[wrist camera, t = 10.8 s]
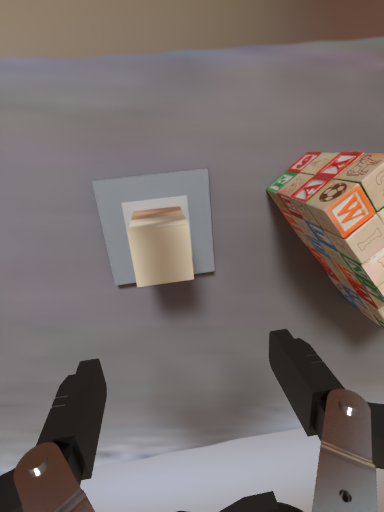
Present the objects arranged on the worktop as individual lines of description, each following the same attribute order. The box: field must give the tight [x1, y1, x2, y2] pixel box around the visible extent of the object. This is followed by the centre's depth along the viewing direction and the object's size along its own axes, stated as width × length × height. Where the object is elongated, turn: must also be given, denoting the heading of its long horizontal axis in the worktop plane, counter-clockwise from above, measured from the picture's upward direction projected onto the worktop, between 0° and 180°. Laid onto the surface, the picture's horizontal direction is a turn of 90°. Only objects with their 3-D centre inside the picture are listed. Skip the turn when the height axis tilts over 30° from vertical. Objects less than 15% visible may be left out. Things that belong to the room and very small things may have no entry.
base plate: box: [92, 168, 215, 286], centre depth 31 cm, size 12×12×1 cm
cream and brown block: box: [127, 206, 194, 287], centre depth 27 cm, size 5×5×8 cm
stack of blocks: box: [266, 152, 384, 328], centre depth 29 cm, size 21×6×12 cm, turn 41°
